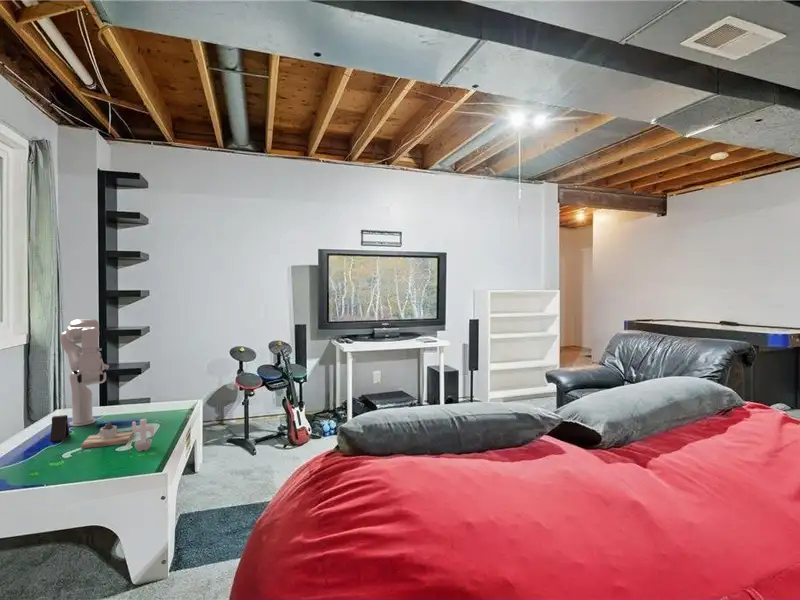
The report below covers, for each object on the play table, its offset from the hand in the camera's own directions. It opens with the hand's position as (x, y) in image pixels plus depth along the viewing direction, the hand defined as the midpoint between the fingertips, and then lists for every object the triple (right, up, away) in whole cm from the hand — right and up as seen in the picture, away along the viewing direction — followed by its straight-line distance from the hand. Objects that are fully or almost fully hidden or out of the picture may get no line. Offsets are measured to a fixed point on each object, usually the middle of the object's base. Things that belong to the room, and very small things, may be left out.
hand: (90, 381), depth 236 cm
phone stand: (-11, -29, -8) cm, 32 cm away
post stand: (+18, -29, -11) cm, 36 cm away
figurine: (+42, -30, -22) cm, 56 cm away
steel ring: (+18, -27, -11) cm, 34 cm away
